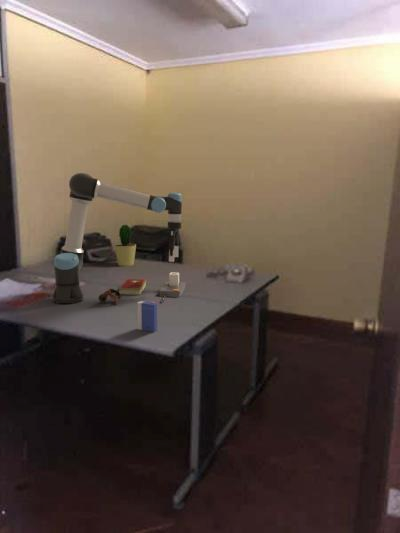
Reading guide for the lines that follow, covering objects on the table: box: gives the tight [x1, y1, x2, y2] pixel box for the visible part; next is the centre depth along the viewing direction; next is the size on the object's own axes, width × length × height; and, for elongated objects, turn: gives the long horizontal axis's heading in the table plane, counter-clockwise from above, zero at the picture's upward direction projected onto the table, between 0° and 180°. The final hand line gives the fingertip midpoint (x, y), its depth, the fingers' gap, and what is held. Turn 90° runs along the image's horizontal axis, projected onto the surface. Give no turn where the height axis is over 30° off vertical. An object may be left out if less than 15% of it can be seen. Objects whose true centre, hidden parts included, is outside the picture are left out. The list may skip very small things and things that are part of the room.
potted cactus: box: [114, 224, 137, 267], centre depth 286 cm, size 15×15×30 cm
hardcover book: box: [117, 278, 147, 296], centre depth 223 cm, size 12×21×4 cm, turn 178°
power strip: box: [159, 281, 186, 304], centre depth 214 cm, size 32×11×4 cm, turn 174°
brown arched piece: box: [98, 288, 122, 306], centre depth 196 cm, size 12×10×8 cm
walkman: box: [136, 300, 158, 333], centre depth 162 cm, size 8×3×12 cm, turn 68°
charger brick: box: [168, 271, 180, 286], centre depth 223 cm, size 5×5×9 cm
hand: (173, 259), depth 221 cm, fingers open, 13 cm apart
